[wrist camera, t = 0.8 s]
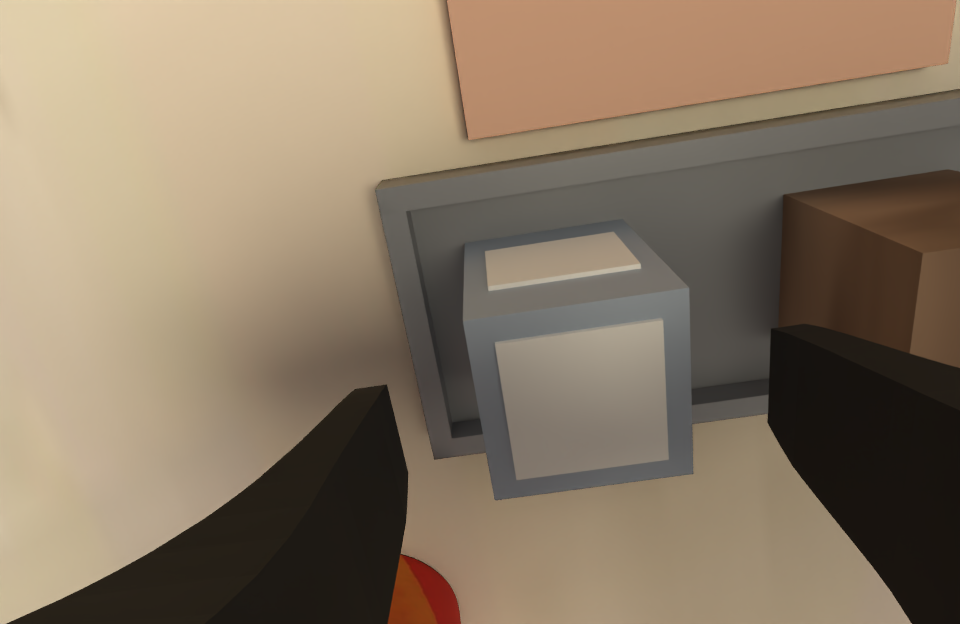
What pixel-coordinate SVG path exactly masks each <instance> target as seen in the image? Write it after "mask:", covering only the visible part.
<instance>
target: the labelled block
mask: <svg viewBox="0 0 960 624" xmlns="http://www.w3.org/2000/svg"><path fill="white" fill-rule="evenodd" d="M463 325H464V331H465V336H466V342H467V348H468V353H469V359H470V364H471V370H472V376H473V381H474V387H475V392H476V398H477V404H478V409H479V415H480V420H481V426H482V432H483V437H484V443H485V448H486V454H487V460H488V465H489V471H490V476H491V482H492V488H493V493H494V499H495V500H502V499H509V498H517V497H524V496H531V495H539V494H546V493H554V492H561V491H569V490H576V489H584V488H591V487H599V486H606V485H614V484H621V483H628V482H636V481H643V480H651V479H658V478H666V477H673V476H681V475H688V474H693V440H692V395H691V349H690V303H689V287H688V286H687V285H686V284H685V283H684V282H683V281H682V280H681V279H680V278H679V277H678V276H677V275H676V274H675V273H674V272H673V271H672V270H671V269H670V267H669V266H668V265H667V264H666V263H665V262H664V261H663V260H662V259H661V258H660V257H659V256H658V255H657V254H656V253H655V252H654V251H653V250H652V249H651V248H650V247H649V246H648V245H647V244H646V243H645V242H644V241H643V240H642V239H641V238H640V237H639V236H638V235H637V234H636V233H635V231H634V230H633V229H632V228H631V227H630V226H629V225H628V224H627V223H626V222H625V221H624V220H623V219H619V220H612V221H606V222H599V223H593V224H586V225H579V226H573V227H566V228H560V229H553V230H547V231H540V232H534V233H527V234H521V235H514V236H507V237H501V238H494V239H488V240H481V241H475V242H468V243H465V252H464V291H463Z"/></svg>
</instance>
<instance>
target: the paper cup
mask: <svg viewBox="0 0 960 624" xmlns="http://www.w3.org/2000/svg"><path fill="white" fill-rule="evenodd" d="M388 624H461V621H460V613H459V607H458V603H457V599H456V596H455V594H454V592H453V590H452V588H451V587H450V585H449V584H448V583H447V581H446V580H445V579H444V578H443V577H442V576H441V575H440V574H439V573H438V572H436V571H435V570H434V569H432V568H431V567H429V566H428V565H426V564H424V563H422V562H420V561H418V560H416V559H413V558H411V557H408V556H404V555H401V554H400V559H399V564H398V570H397V575H396V581H395V586H394V592H393V597H392V603H391V608H390V614H389V619H388Z"/></svg>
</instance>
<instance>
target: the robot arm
mask: <svg viewBox="0 0 960 624" xmlns="http://www.w3.org/2000/svg"><path fill="white" fill-rule="evenodd" d="M768 424H769V426H770V428H771V430H772V432H773V433H774V435H775V437H776V439H777V441H778V442H779V444H780V446H781V448H782V449H783V451H784V453H785V454H786V456H787V457H788V459H789V461H790V462H791V464H792V466H793V467H794V468H795V470H796V471H797V472H798V474H799V475H800V476H801V478H802V479H803V480H804V481H805V483H806V484H807V485H808V487H809V488H810V489H811V490H812V492H813V493H814V494H815V495H816V497H817V498H818V499H819V500H820V502H821V503H822V504H823V505H824V507H825V508H826V509H827V510H828V512H829V513H830V514H831V515H832V517H833V518H834V519H835V520H836V522H837V523H838V524H839V525H840V527H841V528H842V529H843V530H844V531H845V533H846V534H847V535H848V536H849V538H850V539H851V540H852V541H853V543H854V544H855V545H856V546H857V548H858V549H859V550H860V551H861V553H862V554H863V555H864V556H865V558H866V559H867V560H868V561H869V563H870V564H871V565H872V566H873V568H874V569H875V570H876V572H877V573H878V574H879V576H880V577H881V578H882V580H883V581H884V583H885V584H886V585H887V587H888V588H889V589H890V591H891V592H892V594H893V595H894V597H895V598H896V600H897V601H898V603H899V604H900V606H901V608H902V609H903V611H904V612H905V614H906V615H907V617H908V618H909V620H910V621H911V623H912V624H960V368H958V367H954V366H951V365H947V364H944V363H940V362H937V361H933V360H930V359H927V358H923V357H920V356H917V355H913V354H910V353H907V352H903V351H900V350H897V349H894V348H890V347H887V346H884V345H881V344H878V343H874V342H871V341H868V340H865V339H862V338H858V337H855V336H852V335H848V334H845V333H842V332H838V331H835V330H831V329H827V328H823V327H819V326H815V325H809V324H799V325H792V326H785V327H778V328H771V338H770V368H769V397H768ZM407 494H408V470H407V466H406V462H405V458H404V454H403V450H402V445H401V441H400V437H399V433H398V429H397V425H396V421H395V416H394V412H393V408H392V404H391V400H390V396H389V392H388V387H387V385H381V386H374V387H367V388H360V389H355V390H354V391H352V392H351V393H350V394H349V395H348V396H347V397H346V398H345V399H343V400H342V401H341V402H340V403H339V404H338V405H337V406H336V407H335V408H334V409H333V410H332V411H331V412H330V413H329V414H328V415H327V416H326V417H325V418H324V419H323V420H322V421H321V422H320V423H319V424H318V425H317V426H316V427H315V428H314V429H313V430H312V431H311V432H310V433H309V434H308V435H307V436H306V437H305V438H304V439H303V440H301V441H300V442H299V443H298V444H297V445H296V446H295V447H294V448H293V449H292V450H291V451H289V452H288V453H287V454H286V455H285V456H284V457H283V458H281V459H280V460H279V461H278V462H277V463H276V464H275V465H273V466H272V467H271V468H270V469H269V470H268V471H267V472H266V473H264V474H263V475H262V476H261V477H260V478H259V479H257V480H256V481H255V482H254V483H252V484H251V485H250V486H249V487H247V488H246V489H245V490H243V491H242V492H241V493H240V494H238V495H237V496H236V497H234V498H233V499H231V500H230V501H229V502H227V503H226V504H224V505H223V506H222V507H220V508H219V509H218V510H216V511H215V512H213V513H212V514H211V515H209V516H208V517H206V518H205V519H203V520H202V521H200V522H198V523H197V524H195V525H194V526H192V527H190V528H189V529H187V530H186V531H184V532H182V533H181V534H179V535H178V536H176V537H174V538H173V539H171V540H170V541H168V542H166V543H165V544H163V545H162V546H160V547H158V548H157V549H155V550H154V551H152V552H150V553H148V554H147V555H145V556H143V557H141V558H140V559H138V560H136V561H134V562H132V563H131V564H129V565H127V566H125V567H123V568H122V569H120V570H118V571H116V572H114V573H112V574H110V575H108V576H106V577H104V578H103V579H101V580H99V581H97V582H95V583H93V584H91V585H89V586H87V587H85V588H83V589H81V590H79V591H77V592H75V593H73V594H71V595H69V596H67V597H65V598H63V599H60V600H58V601H56V602H54V603H52V604H49V605H47V606H45V607H43V608H40V609H38V610H36V611H34V612H31V613H29V614H27V615H25V616H23V617H20V618H18V619H16V620H14V621H11V622H9V623H7V624H388V619H389V614H390V608H391V603H392V597H393V592H394V586H395V581H396V575H397V570H398V564H399V559H400V553H401V547H402V542H403V536H404V530H405V524H406V515H407Z"/></svg>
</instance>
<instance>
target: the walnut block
mask: <svg viewBox="0 0 960 624" xmlns="http://www.w3.org/2000/svg"><path fill="white" fill-rule="evenodd" d="M799 324H809V325H815V326H819V327H823V328H827V329H831V330H835V331H838V332H842V333H845V334H848V335H852V336H855V337H858V338H862V339H865V340H868V341H871V342H874V343H878V344H881V345H884V346H887V347H890V348H894V349H897V350H900V351H903V352H907V353H910V354H913V355H917V356H920V357H923V358H927V359H930V360H933V361H937V362H940V363H944V364H947V365H951V366H954V367H958V368H960V172H959V171H954V170H950V169H946V170H940V171H933V172H927V173H920V174H914V175H907V176H900V177H894V178H887V179H881V180H874V181H868V182H861V183H855V184H848V185H841V186H835V187H828V188H822V189H815V190H809V191H802V192H796V193H789V194H784V195H783V220H782V246H781V271H780V297H779V322H778V327H785V326H792V325H799Z"/></svg>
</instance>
